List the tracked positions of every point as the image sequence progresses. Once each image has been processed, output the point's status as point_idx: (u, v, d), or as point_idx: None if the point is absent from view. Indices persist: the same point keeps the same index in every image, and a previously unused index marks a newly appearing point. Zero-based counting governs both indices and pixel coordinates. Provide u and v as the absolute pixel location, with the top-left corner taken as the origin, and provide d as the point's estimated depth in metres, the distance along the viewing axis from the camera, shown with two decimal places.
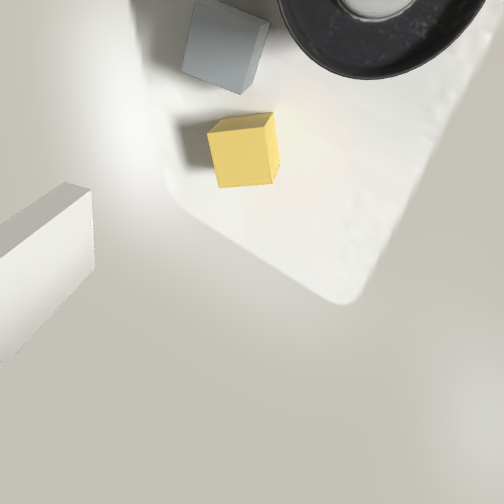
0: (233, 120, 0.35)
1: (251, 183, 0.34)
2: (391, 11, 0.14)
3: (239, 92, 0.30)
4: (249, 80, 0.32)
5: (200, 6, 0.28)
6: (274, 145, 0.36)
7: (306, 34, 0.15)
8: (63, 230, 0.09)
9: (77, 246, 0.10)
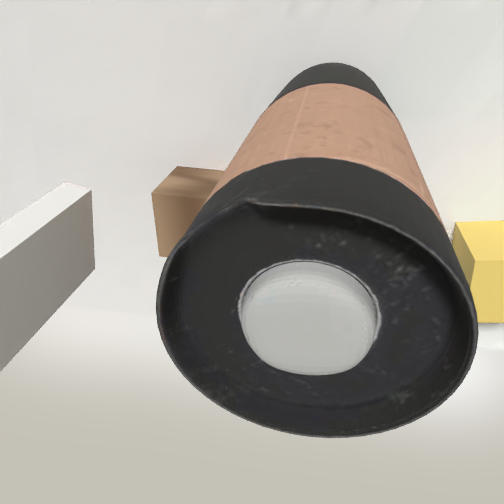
0: None
1: None
2: (370, 323, 0.09)
3: None
4: None
5: None
6: None
7: (379, 395, 0.11)
8: (63, 230, 0.09)
9: (77, 246, 0.10)
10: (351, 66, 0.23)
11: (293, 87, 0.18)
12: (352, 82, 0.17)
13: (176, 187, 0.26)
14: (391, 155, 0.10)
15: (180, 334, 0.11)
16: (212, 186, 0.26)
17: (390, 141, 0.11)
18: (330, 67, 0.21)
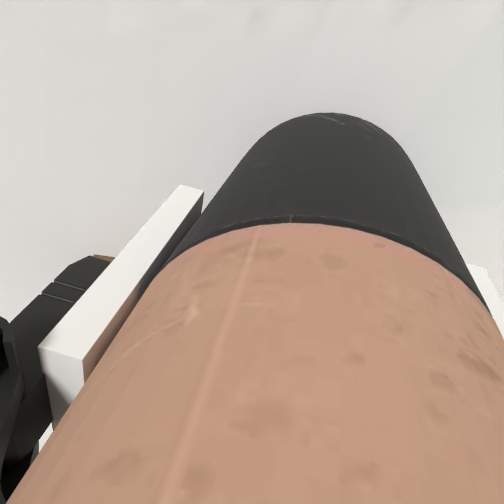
0: None
1: None
2: None
3: None
4: None
5: None
6: None
7: None
8: (188, 227, 0.11)
9: None
10: (362, 121, 0.13)
11: (234, 205, 0.08)
12: (372, 205, 0.07)
13: None
14: None
15: None
16: None
17: None
18: (323, 132, 0.11)
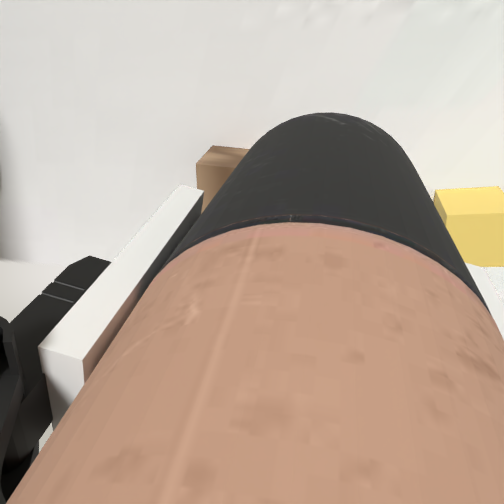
0: None
1: None
2: None
3: None
4: None
5: None
6: (472, 195, 0.33)
7: None
8: (187, 227, 0.11)
9: None
10: (362, 121, 0.13)
11: (235, 205, 0.08)
12: (371, 204, 0.07)
13: (214, 160, 0.33)
14: None
15: None
16: None
17: None
18: (323, 132, 0.11)
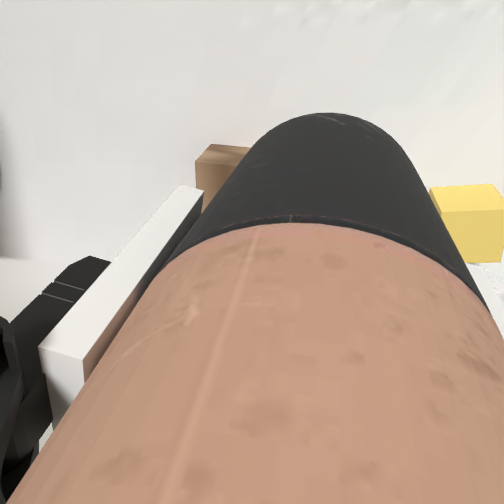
0: None
1: None
2: None
3: None
4: None
5: None
6: (466, 192, 0.33)
7: None
8: (187, 227, 0.11)
9: None
10: (362, 121, 0.13)
11: (234, 205, 0.08)
12: (371, 205, 0.07)
13: (213, 158, 0.34)
14: None
15: None
16: (240, 158, 0.34)
17: None
18: (323, 132, 0.11)
